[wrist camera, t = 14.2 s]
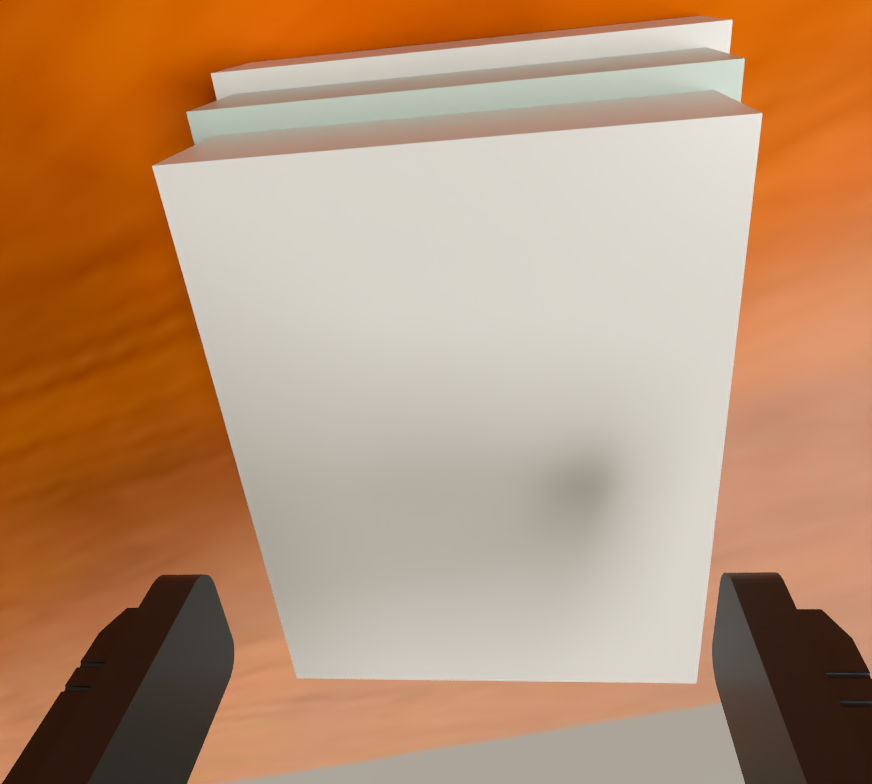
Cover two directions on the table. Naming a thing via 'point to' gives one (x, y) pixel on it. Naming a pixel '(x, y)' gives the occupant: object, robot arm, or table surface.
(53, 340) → the table surface
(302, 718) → the table surface
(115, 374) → the table surface
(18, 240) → the table surface
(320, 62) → the white stepped block
